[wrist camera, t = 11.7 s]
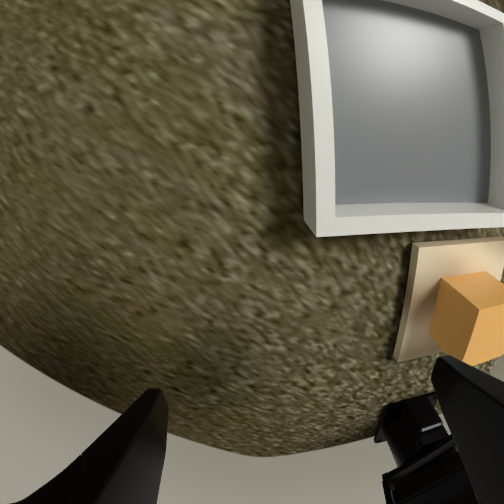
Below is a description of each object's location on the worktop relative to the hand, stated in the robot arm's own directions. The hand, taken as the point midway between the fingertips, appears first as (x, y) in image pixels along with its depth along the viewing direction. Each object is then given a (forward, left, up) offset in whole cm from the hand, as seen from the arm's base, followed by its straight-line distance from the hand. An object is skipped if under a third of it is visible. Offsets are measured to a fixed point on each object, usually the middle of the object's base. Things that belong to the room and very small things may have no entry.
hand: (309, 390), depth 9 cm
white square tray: (+10, -10, -12) cm, 19 cm away
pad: (-5, -15, -12) cm, 20 cm away
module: (-5, -15, -11) cm, 19 cm away
